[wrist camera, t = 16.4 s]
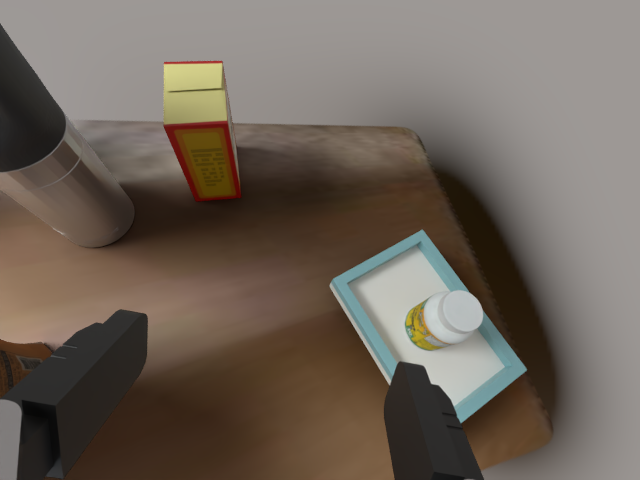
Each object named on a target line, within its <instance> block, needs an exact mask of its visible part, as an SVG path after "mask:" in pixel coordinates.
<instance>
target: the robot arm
mask: <svg viewBox="0 0 640 480" xmlns="http://www.w3.org/2000/svg"><path fill="white" fill-rule="evenodd" d="M0 190H1V191H3V192H4V193H5V194H7V195H8V196H9V197H11V198H12V199H14V200H15V201H16V202H18V203H19V204H20V205H22V206H23V207H25V208H26V209H27V210H29V211H30V212H32V213H33V214H34V215H36V216H37V217H38V218H40V219H41V220H43V221H44V222H45V223H47V224H48V225H49V226H51V227H52V228H53V229H55V230H56V231H58V232H59V233H60V234H62V235H63V236H64V237H66V238H67V239H69V240H70V241H71V242H73V243H75V244H77V245H79V246H83V247H101V246H105V245H108V244H111V243H113V242H115V241H116V240H118V239H119V238H121V237H122V236H123V235H124V234H125V233H126V232H127V231H128V230H129V228H130V227H131V225H132V223H133V220H134V215H135V210H134V205H133V203H132V201H131V199H130V198H129V197H128V196H127V194H126V193H125V192H124V190H123V189H122V188H121V186H120V185H119V183H118V182H117V181H116V180H115V178H114V177H113V176H112V174H111V173H110V172H109V170H108V169H107V168H106V166H105V165H104V164H103V163H102V161H101V160H100V159H99V157H98V156H97V155H96V153H95V152H94V151H93V149H92V148H91V147H90V146H89V144H88V143H87V142H86V140H85V139H84V138H83V136H82V135H81V134H80V133H79V131H78V130H77V129H76V128H75V126H74V125H73V124H72V122H71V121H70V120H69V118H68V117H67V116H66V115H65V113H64V112H63V111H62V109H61V108H60V107H59V105H58V104H57V103H56V101H55V100H54V99H53V97H52V96H51V95H50V93H49V92H48V90H47V89H46V87H45V86H44V85H43V83H42V82H41V80H40V79H39V77H38V76H37V74H36V73H35V71H34V70H33V69H32V67H31V66H30V65H29V63H28V62H27V61H26V59H25V58H24V56H23V55H22V54H21V53H20V51H19V50H18V49H17V47H16V46H15V44H14V43H13V41H12V40H11V39H10V37H9V36H8V34H7V33H6V32H5V30H4V28H3V27H2V25H1V24H0ZM147 331H148V318H147V315H146V314H144V313H138V312H133V311H127V310H122V309H120V310H118V311H116V312H115V313H114V314H113V315H112V316H111V317H110V318H109V319H108V320H107V321H106V322H104V323H103V324H102V323H94V324H92V325H90V326H88V327H86V328H84V329H82V330H80V331H78V332H76V333H75V334H74V335H73V336H72V337H71V338H70V339H68V340H67V341H66V342H65V343H64V344H63V346H62V347H59V348H58V349H57V350H56V351H55V352H53V353H52V354H51V357H48V358H46V359H45V360H44V361H43V362H42V363H41V364H39V365H38V366H37V367H36V368H35V369H34V370H33V371H31V372H30V373H29V374H28V375H27V376H26V377H24V378H23V379H22V380H21V381H20V382H19V383H18V384H16V385H15V386H14V387H13V388H12V389H11V390H9V391H8V392H7V393H6V394H5V395H4V396H2V397H1V398H0V480H43V478H44V477H45V476H47V477H53V478H59V479H64V477H65V476H66V475H67V473H68V472H69V471H70V469H71V468H72V466H73V465H74V464H75V462H76V461H77V460H78V458H79V457H80V455H81V454H82V453H83V451H84V450H85V449H86V447H87V446H88V445H89V443H90V442H91V440H92V439H93V438H94V436H95V435H96V434H97V432H98V431H99V429H100V428H101V427H102V425H103V424H104V423H105V421H106V420H107V419H108V417H109V416H110V414H111V413H112V412H113V410H114V409H115V408H116V406H117V405H118V403H119V402H120V401H121V399H122V398H123V397H124V395H125V394H126V393H127V391H128V390H129V388H130V387H131V386H132V384H133V383H134V382H135V380H136V379H137V377H138V376H139V375H140V373H141V371H142V369H143V367H144V364H145V361H146V357H147ZM384 420H385V425H386V431H387V437H388V443H389V449H390V454H391V460H392V466H393V472H394V478H395V480H484V478H483V476H482V474H481V471H480V469H479V466H478V464H477V461H476V459H475V456H474V454H473V452H472V449H471V447H470V444H469V442H468V440H467V437H466V435H465V432H464V431H463V430H462V429H463V428H462V425H461V423H460V420H459V418H457V413H456V411H455V408H454V406H453V404H452V401H451V399H450V398H449V397H448V396H447V394H446V393H445V392H444V391H443V390H442V388H441V387H440V386H439V385H434V384H431V382H430V379H429V377H428V374H427V371H426V369H425V367H424V366H423V365H419V364H413V363H408V362H402V361H400V362H398V364H397V366H396V369H395V372H394V375H393V378H392V381H391V383H390V386H389V389H388V392H387V395H386V398H385V404H384Z"/></svg>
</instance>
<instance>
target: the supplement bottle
mask: <svg viewBox="0 0 640 480" xmlns="http://www.w3.org/2000/svg"><path fill="white" fill-rule="evenodd" d="M482 320H483V310H482V307H481V304H480V303H479V301H478V300H477V299H476V298H475V297H474V296H473V295H472V294H470V293H468V292H466V291H462V290H456V291H452V292H450V291H442V292H438V293H436V294H434V295H432V296H431V297H429V298H428V299H426V300H424V301H423V302H421V303H420V304H418V305H417V306H415V307H413V308H412V309H411V310H410V311H409V312H408V313H407V315H406V317H405V321H404V329H405V332H406V335H407V337H408V339H409V341H410V342H411V343H412V344H413V345H414V346H416V347H417V348H419V349H421V350H425V351H433V350H437V349H441V348H444V347H448V346H451V345H455V344H458V343H461V342H464V341H465V340H467V339H468V338H469V337H470V336H471V335H472V333H473V331H474V330H476V329H477V328H478V327H479V326H480V325H481V323H482Z"/></svg>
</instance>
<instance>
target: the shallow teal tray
mask: <svg viewBox="0 0 640 480" xmlns="http://www.w3.org/2000/svg"><path fill="white" fill-rule="evenodd" d="M329 287H330V288H331V290H332V292H333V293H334V295H335V297H336V298H337V300H338V302H339V303H340V305H341V306H342V308H343V310H344V311H345V313H346V315H347V316H348V318H349V320H350V321H351V323H352V325H353V326H354V328H355V329H356V331H357V333H358V334H359V336H360V338H361V339H362V341H363V343H364V344H365V346H366V348H367V349H368V351H369V352H370V354H371V356H372V357H373V359H374V361H375V362H376V364H377V366H378V367H379V369H380V371H381V372H382V374H383V375H384V377H385V379H386V380H387V382H388V384H389V385H390V383H391V381H392V378H393V375H394V372H395V369H396V366H397V364H398V362H400V361H402V362H408V363H413V364H419V365H423V366H424V367H425V369H426V371H427V374H428V377H429V379H430V382H431V384H434V385H439V386H440V387H441V388H442V390H443V391H444V392H445V393H446V394H447V396H448V397H449V398H450V399H451V401H452V404H453V406H454V408H455V411H456V413H457V418H459V420H460V423H462V422H463V421H464V420H466V419H467V418H468V417H469V416H471V415H472V414H473V413H474V412H476V411H477V410H478V409H479V408H481V407H482V406H483V405H484V404H486V403H487V402H488V401H489V400H491V399H492V398H493V397H494V396H496V395H497V394H498V393H499V392H500V391H502V390H503V389H504V388H505V387H507V386H508V385H509V384H510V383H512V382H513V381H514V380H515V379H517V378H518V377H519V376H520V375H522V374H523V373H524V372H525V371H527V369H526V367H525V366H524V365H523V363H522V362H521V361H520V359H519V358H518V357H517V355H516V354H515V353H514V351H513V350H512V349H511V347H510V346H509V345H508V343H507V342H506V341H505V339H504V338H503V337H502V335H501V334H500V333H499V331H498V330H497V329H496V327H495V326H494V325H493V323H492V322H491V321H490V319H489V318H488V317H487V315H486V314H485V313H484V311H483V320H482V323H481V325H480V326H479V327H478V328H477V329H476V330H474V331H473V333H472V335H471V336H470V337H469V338H468V339H467V340H465V341H464V342H461V343H458V344H455V345H451V346H448V347H444V348H441V349H437V350H433V351H425V350H421V349H419V348H417V347H416V346H414V345H413V344H412V343H411V342H410V341H409V339H408V337H407V335H406V332H405V329H404V321H405V317H406V315H407V313H408V312H409V311H410V310H411V309H412V308H413V307H415V306H417V305H418V304H420V303H421V302H423V301H424V300H426V299H428V298H429V297H431V296H432V295H434V294H436V293H438V292H442V291H450V292H452V291H456V290H462V291H466V292H468V293H470V292H469V291H468V290H467V288H466V287H465V286H464V284H463V283H462V282H461V280H460V279H459V278H458V276H457V275H456V274H455V272H454V271H453V270H452V268H451V267H450V266H449V264H448V263H447V262H446V260H445V259H444V258H443V256H442V255H441V254H440V252H439V251H438V249H437V248H436V247H435V245H434V244H433V243H432V241H431V240H430V239H429V237H428V236H427V235H426V233H425V232H424V231H423V230H421V231H419V232H417V233H416V234H414V235H412V236H410V237H408V238H406V239H405V240H403V241H401V242H399V243H397V244H396V245H394V246H392V247H390V248H388V249H386V250H385V251H383V252H381V253H379V254H377V255H376V256H374V257H372V258H370V259H368V260H366V261H365V262H363V263H361V264H359V265H357V266H356V267H354V268H352V269H350V270H348V271H346V272H345V273H343V274H341V275H339V276H337V277H336V278H334V279H333V280H332V282H331V284H330V286H329Z"/></svg>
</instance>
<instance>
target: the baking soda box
mask: <svg viewBox="0 0 640 480" xmlns="http://www.w3.org/2000/svg"><path fill="white" fill-rule="evenodd" d="M164 129H165V131H166V133H167V136H168V138H169V140H170V142H171V145H172V147H173V149H174V152H175V154H176V156H177V159H178V161H179V163H180V166H181V168H182V170H183V173H184V175H185V177H186V180H187V182H188V184H189V187H190V189H191V191H192V194H193V196H194V198H195V201H196V202H198V201H209V200H221V199H232V198H241V188H240V178H239V167H238V157H237V146H236V140H235V134H234V128H233V122H232V116H231V110H230V105H229V98H228V93H227V86H226V80H225V75H224V68H223V62H222V61H194V62H193V61H190V62H164Z"/></svg>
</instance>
